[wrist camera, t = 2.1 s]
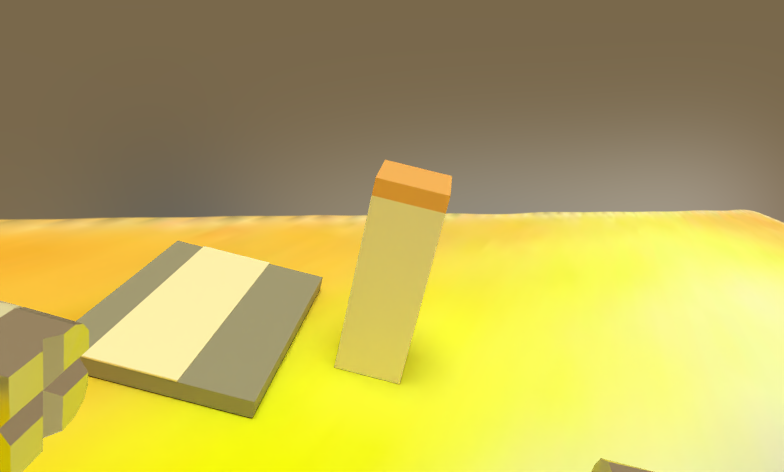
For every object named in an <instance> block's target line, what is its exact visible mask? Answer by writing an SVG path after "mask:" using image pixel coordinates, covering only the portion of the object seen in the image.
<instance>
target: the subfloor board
mask: <svg viewBox="0 0 784 472" xmlns="http://www.w3.org/2000/svg"><path fill="white" fill-rule="evenodd" d="M321 281H322V277H319V276H315V275H311V274H307V273H303V272H299V271H295V270H291V269H287V268H283V267H279V266H275V265H272V264H270V263H269V262H265V261H261V260H257V259H253V258H249V257H245V256H241V255H237V254H233V253H229V252H225V251H221V250H217V249H213V248H209V247H205V246H204V247H200V246H196V245H192V244H189V243H185V242H181V241H177V242H176V243H174V244H173V245H172V246H171V247H169V248H168V249H167V250H166V251H164V252H163V253H162V254H160V255H159V256H158V257H157V258H155V259H154V260H153V261H152V262H150V263H149V264H148V265H147V266H145V267H144V268H143V269H142V270H140V271H139V272H138V273H136V274H135V275H134V276H133V277H131V278H130V279H129V280H128V281H126V282H125V283H124V284H123V285H121V286H120V287H119V288H118V289H116V290H115V291H114V292H113V293H111V294H110V295H109V296H107V297H106V298H105V299H104V300H102V301H101V302H100V303H99V304H97V305H96V306H95V307H94V308H92V309H91V310H90V311H89V312H87V313H86V314H85V315H83V316H82V317H81V318H80V319H78V320H77V321H76V322H79V323H82V324H84V325H85V326H86V327H87V328H88V330H89V349H88V350H87V351H86V352H85V353H84V354H83V355H82V356H81V357H79V358H80V360H81V361H82V363H83V364H84V366H85V368H86V369H87V371H88V375H89V376H92V377H96V378H100V379H104V380H108V381H112V382H115V383H119V384H123V385H127V386H131V387H135V388H138V389H142V390H146V391H150V392H154V393H158V394H161V395H165V396H169V397H173V398H177V399H180V400H184V401H188V402H192V403H196V404H200V405H203V406H207V407H211V408H215V409H219V410H223V411H226V412H230V413H234V414H238V415H242V416H246V417H249V418H252V417H253V415H254V414H255V412H256V410H257V408H258V406H259V404H260V402H261V400H262V398H263V396H264V395H265V393H266V391H267V389H268V387H269V385H270V383H271V381H272V379H273V377H274V376H275V374H276V372H277V370H278V368H279V366H280V364H281V362H282V360H283V359H284V357H285V355H286V353H287V351H288V349H289V347H290V345H291V343H292V341H293V340H294V338H295V336H296V334H297V332H298V330H299V328H300V326H301V324H302V322H303V321H304V319H305V317H306V315H307V313H308V311H309V309H310V307H311V305H312V303H313V302H314V300H315V298H316V296H317V294H318V292H319V290H320V287H321Z"/></svg>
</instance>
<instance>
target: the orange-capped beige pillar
mask: <svg viewBox="0 0 784 472" xmlns="http://www.w3.org/2000/svg"><path fill="white" fill-rule="evenodd" d="M451 181H452V176H449V175H445V174H441V173H437V172H433V171H429V170H425V169H420V168H417V167H413V166H408V165H404V164H400V163H396V162H392V161H388V160H385V161H384V163H383V165H382V167H381V169H380V171H379V172H378V174H377V176H376V178H375V183H374V187H373V192H372V197H371V201H370V206H369V210H368V215H367V219H366V224H365V229H364V233H363V238H362V242H361V247H360V252H359V256H358V261H357V265H356V270H355V274H354V279H353V284H352V288H351V293H350V297H349V302H348V307H347V311H346V316H345V320H344V325H343V329H342V334H341V339H340V343H339V348H338V352H337V357H336V362H335V366H334V367H335V368H339V369H342V370H346V371H350V372H354V373H358V374H362V375H366V376H370V377H373V378H377V379H381V380H385V381H389V382H393V383H397V384H400V380H401V377H402V373H403V369H404V366H405V362H406V358H407V355H408V351H409V347H410V343H411V340H412V336H413V332H414V329H415V325H416V321H417V318H418V314H419V310H420V306H421V303H422V299H423V295H424V292H425V288H426V284H427V281H428V277H429V273H430V269H431V266H432V262H433V258H434V255H435V251H436V247H437V244H438V240H439V236H440V232H441V229H442V225H443V221H444V218H445V214H446V210H447V206H448V203H449V199H450V193H451Z"/></svg>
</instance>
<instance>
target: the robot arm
mask: <svg viewBox="0 0 784 472" xmlns="http://www.w3.org/2000/svg"><path fill="white" fill-rule="evenodd" d="M88 349H89V330H88V328H87V327H86V326H85V325H84V324H82V323H79V322H75V321H72V320H68V319H65V318H61V317H58V316H54V315H50V314H47V313H43V312H40V311H36V310H33V309H29V308H26V307H21V306H18V305H14V304H10V303H6V302H3V301H0V472H22V471H23V470H24V469H25V468H26V467H27V466H28V465H29V464H30V463H31V462H32V461H33V460H34V459H35V458H36V457H37V456H38V455H39V454H40V453H41V452H42V451H43V438H44V437H47V436H49V435H52V434H54V433H57V432H60V431H62V430H63V429H64V428H65V427H66V426H67V425H68V424H69V423H70V422H71V420H72V419H73V418H74V417H75V415H76V413H77V411H78V410H79V408H80V406H81V404H82V402H83V400H84V397H85V393H86V389H87V386H88V371H87V369H86V368H85V366H84V364H83V363H82V361H81V360H80V358H79V357H81V356H82V355H83V354H84V353H85V352H86V351H87V350H88ZM592 472H653V471H649V470H645V469H641V468H637V467H633V466H629V465H625V464H621V463H618V462H614V461H610V460H606V459H602V458H601V459H600V460H599V461H598V462H597V463H596V464H595V465H594V468H593V470H592Z"/></svg>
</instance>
